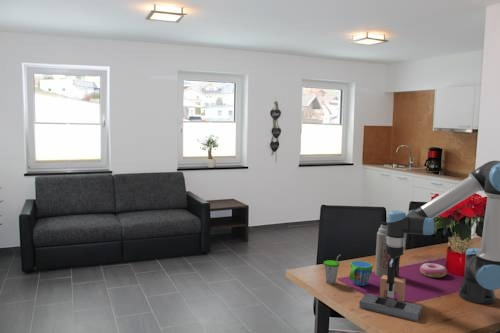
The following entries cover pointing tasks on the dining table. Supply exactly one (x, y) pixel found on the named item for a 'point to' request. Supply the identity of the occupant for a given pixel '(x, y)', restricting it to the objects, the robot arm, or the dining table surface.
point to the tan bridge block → (398, 287)
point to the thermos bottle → (381, 251)
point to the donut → (433, 270)
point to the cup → (331, 270)
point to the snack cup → (360, 272)
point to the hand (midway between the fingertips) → (392, 295)
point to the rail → (391, 307)
